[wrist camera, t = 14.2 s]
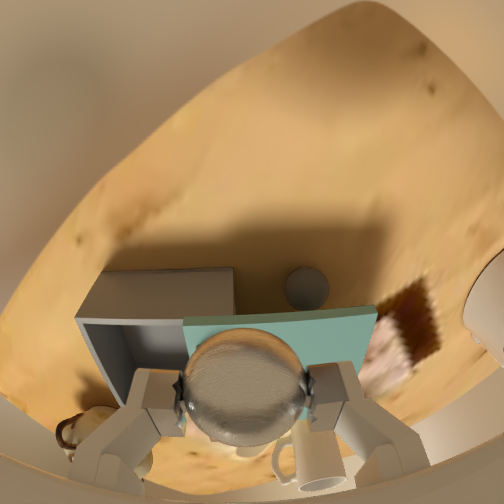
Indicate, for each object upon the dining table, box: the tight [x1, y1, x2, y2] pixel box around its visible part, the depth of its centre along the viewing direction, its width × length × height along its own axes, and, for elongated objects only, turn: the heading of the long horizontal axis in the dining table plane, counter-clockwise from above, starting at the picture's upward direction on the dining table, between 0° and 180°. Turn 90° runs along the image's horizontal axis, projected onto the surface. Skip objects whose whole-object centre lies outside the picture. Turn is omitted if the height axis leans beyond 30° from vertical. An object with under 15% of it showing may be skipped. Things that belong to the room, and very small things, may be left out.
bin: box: [74, 267, 236, 412], centre depth 28 cm, size 13×13×7 cm
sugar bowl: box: [56, 406, 153, 483], centre depth 34 cm, size 20×15×15 cm
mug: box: [271, 419, 347, 492], centre depth 37 cm, size 10×7×12 cm, turn 101°
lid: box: [182, 305, 378, 442], centre depth 23 cm, size 14×14×4 cm
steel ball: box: [182, 328, 308, 447], centre depth 9 cm, size 4×4×4 cm
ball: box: [285, 267, 329, 311], centre depth 27 cm, size 4×4×4 cm
